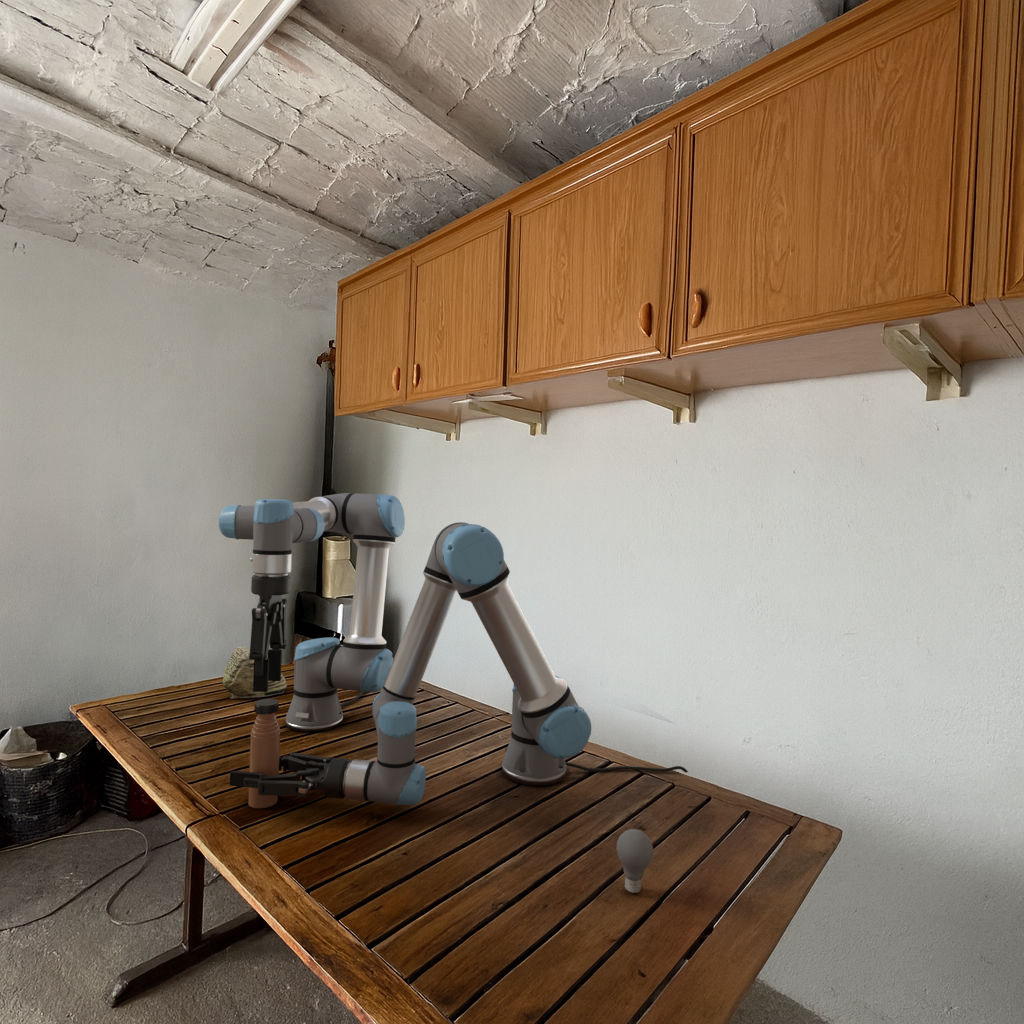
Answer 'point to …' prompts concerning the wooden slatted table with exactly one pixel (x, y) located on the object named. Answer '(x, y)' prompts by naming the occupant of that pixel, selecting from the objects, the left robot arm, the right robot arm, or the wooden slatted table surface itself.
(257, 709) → the cap
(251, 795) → the bottle
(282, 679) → the fossil
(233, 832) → the wooden slatted table surface
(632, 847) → the light bulb
